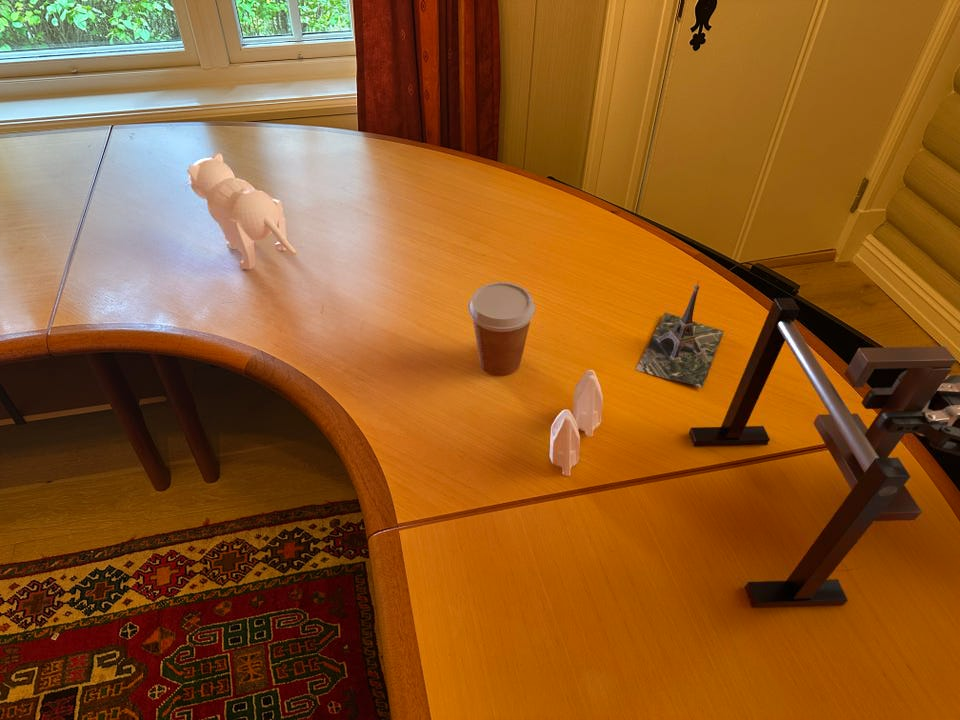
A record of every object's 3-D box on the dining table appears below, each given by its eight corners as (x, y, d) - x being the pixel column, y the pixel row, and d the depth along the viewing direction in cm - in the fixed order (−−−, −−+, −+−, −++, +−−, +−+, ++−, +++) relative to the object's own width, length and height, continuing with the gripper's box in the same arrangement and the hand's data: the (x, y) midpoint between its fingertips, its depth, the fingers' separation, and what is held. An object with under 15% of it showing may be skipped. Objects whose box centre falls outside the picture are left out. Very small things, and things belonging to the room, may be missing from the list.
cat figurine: (323, 260, 113) (306, 177, 102) (281, 288, 107) (257, 202, 96) (235, 222, 124) (210, 142, 112) (191, 245, 117) (160, 163, 106)
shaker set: (579, 406, 86) (588, 348, 79) (606, 417, 85) (619, 360, 77) (540, 463, 79) (546, 406, 71) (569, 477, 77) (578, 420, 70)
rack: (843, 605, 65) (960, 477, 49) (752, 608, 65) (840, 480, 49) (760, 431, 83) (827, 296, 67) (688, 433, 83) (738, 297, 67)
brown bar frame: (852, 422, 75) (925, 307, 63) (915, 520, 65) (1016, 406, 53) (773, 423, 75) (830, 309, 63) (823, 522, 65) (903, 408, 52)
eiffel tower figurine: (702, 392, 88) (728, 321, 79) (635, 369, 92) (652, 299, 83) (723, 332, 98) (748, 264, 89) (661, 314, 102) (679, 246, 92)
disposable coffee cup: (517, 336, 98) (521, 274, 89) (540, 375, 91) (546, 313, 83) (461, 348, 95) (459, 287, 87) (480, 390, 89) (480, 327, 81)
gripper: (1012, 336, 66) (856, 339, 66) (1113, 435, 56) (929, 439, 55) (973, 385, 71) (828, 388, 71) (1060, 483, 61) (891, 487, 61)
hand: (874, 410), depth 63 cm, fingers closed on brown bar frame, 2 cm apart
